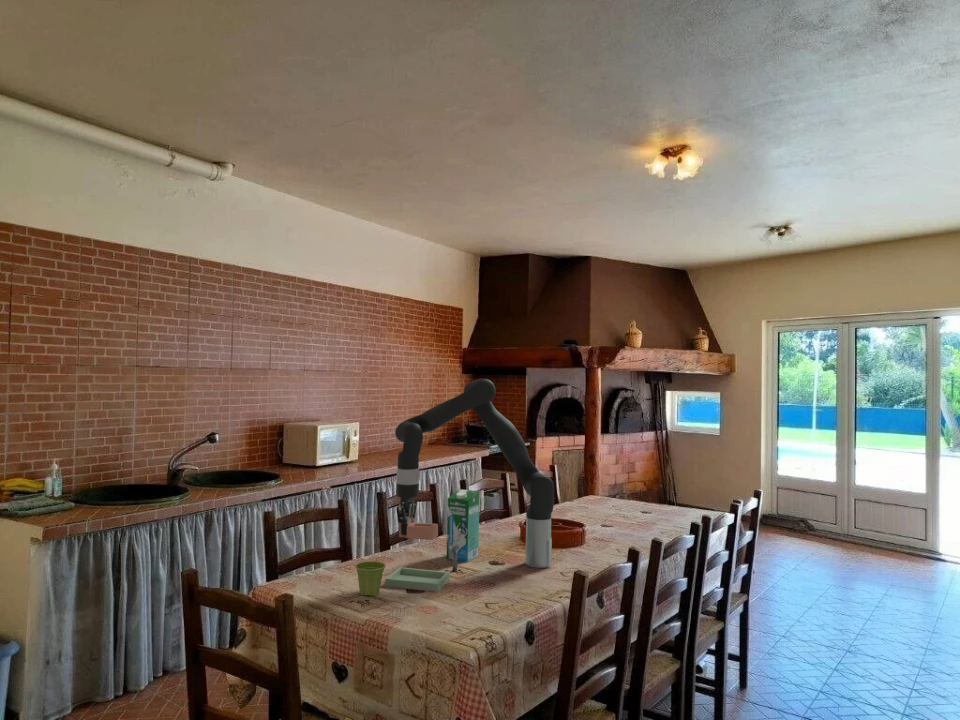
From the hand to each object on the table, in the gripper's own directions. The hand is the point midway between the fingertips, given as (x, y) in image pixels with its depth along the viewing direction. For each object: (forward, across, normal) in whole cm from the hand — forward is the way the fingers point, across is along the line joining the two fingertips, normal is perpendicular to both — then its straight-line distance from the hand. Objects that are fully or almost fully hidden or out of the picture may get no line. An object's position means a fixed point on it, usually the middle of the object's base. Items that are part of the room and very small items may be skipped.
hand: (406, 533), depth 207 cm
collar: (+1, 0, -4) cm, 4 cm away
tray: (+16, 0, -4) cm, 16 cm away
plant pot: (+16, -14, +6) cm, 22 cm away
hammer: (+16, +16, -12) cm, 26 cm away
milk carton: (+16, +33, -10) cm, 38 cm away
